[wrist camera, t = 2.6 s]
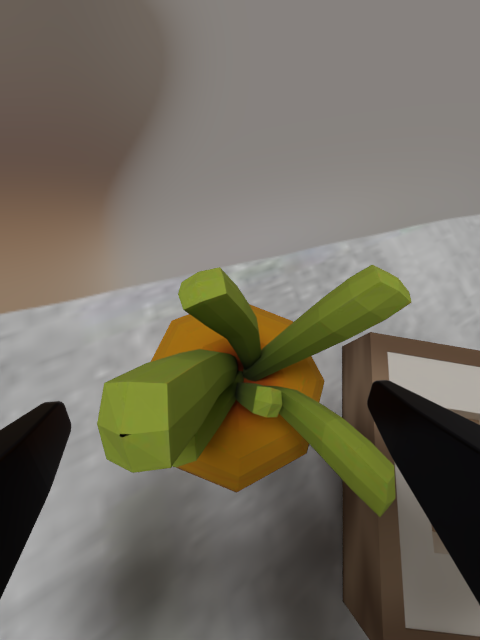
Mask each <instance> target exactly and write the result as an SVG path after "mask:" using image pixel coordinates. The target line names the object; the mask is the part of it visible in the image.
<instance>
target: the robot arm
mask: <svg viewBox="0 0 480 640" xmlns="http://www.w3.org/2000/svg"><path fill="white" fill-rule="evenodd" d="M367 406H368V409H369V412H370V414H371V416H372V418H373V420H374V422H375V424H376V426H377V428H378V430H379V432H380V435H381V437H382V439H383V441H384V443H385V445H386V447H387V449H388V451H389V453H390V455H391V457H392V459H393V460H394V462H395V464H396V466H397V467H398V469H399V471H400V472H401V474H402V476H403V477H404V479H405V481H406V482H407V484H408V486H409V487H410V489H411V491H412V492H413V494H414V496H415V497H416V499H417V501H418V502H419V504H420V506H421V508H422V509H423V511H424V513H425V514H426V516H427V518H428V519H429V521H430V523H431V524H432V526H433V528H434V529H435V531H436V533H437V534H438V536H439V538H440V539H441V541H442V543H443V544H444V546H445V548H446V550H447V551H448V553H449V555H450V556H451V558H452V560H453V561H454V563H455V565H456V566H457V568H458V570H459V571H460V573H461V575H462V576H463V578H464V580H465V581H466V583H467V585H468V586H469V588H470V590H471V592H472V593H473V595H474V597H475V598H476V600H477V602H478V603H479V605H480V425H479V424H477V423H475V422H473V421H471V420H469V419H467V418H465V417H463V416H461V415H459V414H457V413H455V412H453V411H450V410H448V409H446V408H444V407H442V406H440V405H438V404H436V403H434V402H432V401H430V400H428V399H426V398H424V397H422V396H420V395H418V394H416V393H414V392H412V391H410V390H408V389H405V388H403V387H401V386H399V385H397V384H395V383H393V382H391V381H389V380H377V381H374V382H373V383H372V386H371V389H370V393H369V396H368V399H367ZM70 432H71V422H70V419H69V416H68V413H67V411H66V408H65V405H64V404H63V403H62V402H60V401H56V402H45V403H43V404H41V405H39V406H38V407H36V408H34V409H33V410H31V411H30V412H28V413H27V414H25V415H23V416H22V417H20V418H19V419H17V420H16V421H14V422H12V423H11V424H9V425H8V426H6V427H5V428H3V429H1V430H0V599H1V597H2V594H3V592H4V590H5V588H6V586H7V584H8V581H9V579H10V577H11V575H12V573H13V570H14V568H15V566H16V564H17V562H18V560H19V557H20V555H21V553H22V551H23V549H24V547H25V544H26V542H27V540H28V538H29V536H30V533H31V531H32V529H33V527H34V525H35V523H36V520H37V518H38V516H39V514H40V512H41V510H42V507H43V505H44V503H45V501H46V498H47V496H48V494H49V492H50V489H51V486H52V484H53V481H54V478H55V475H56V472H57V469H58V467H59V464H60V461H61V458H62V455H63V452H64V449H65V446H66V444H67V441H68V438H69V435H70Z"/></svg>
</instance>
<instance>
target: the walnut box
mask: <svg viewBox="0 0 480 640" xmlns="http://www.w3.org/2000/svg"><path fill="white" fill-rule="evenodd" d="M387 352H392V353H398V354H404V355H410V356H416V357H422V358H428V359H434V360H440V361H446V362H452V363H458V364H464V365H470V366H476V367H480V351H478V350H472V349H466V348H461V347H455V346H449V345H443V344H437V343H431V342H425V341H419V340H413V339H407V338H402V337H396V336H390V335H384V334H378V333H372V332H370V333H368V334H366V335H364V336H362V337H360V338H358V339H356V340H354V341H352V342H350V343H348V344H346V345H344V346H342V418H343V419H344V420H346V421H347V422H348V423H349V424H350V425H352V426H353V427H354V428H355V429H356V430H357V431H359V432H360V433H361V434H362V435H363V436H364V437H366V438H367V439H368V440H369V441H370V442H371V443H372V444H373V445H374V446H375V447H376V448H377V449H378V450H379V451H380V452H381V453H382V454H383V455H384V456H385V457H386V458H387V459H388V460H389V461H390V462H391V463H392V464H393V465H394V471H395V462H394V460H393V459H392V457H391V455H390V453H389V451H388V449H387V447H386V445H385V443H384V441H383V439H382V437H381V435H380V432H379V430H378V428H377V426H376V424H375V422H374V420H373V418H372V416H371V414H370V412H369V409H368V406H367V399H368V396H369V393H370V389H371V386H372V383H373V382H374V381H377V380H389V368H388V353H387ZM467 419H468V418H467ZM469 420H471V421H473V422H475V423H477V424H479V420H474V419H469ZM479 425H480V424H479ZM431 526H432V524H431ZM432 532H436V531H435V529H434V528H433V526H432ZM343 602H344V603H345V605H346V606H347V608H348V609H349V611H350V612H351V614H352V615H353V616H354V618H355V619H356V621H357V622H358V624H359V625H360V626H361V628H362V629H363V631H364V632H365V634H366V635H367V637H368V638H369V639H370V640H480V636H471V635H463V634H454V633H445V632H437V631H428V630H420V629H411V628H406V626H405V611H404V596H403V580H402V565H401V550H400V535H399V520H398V505H397V489H396V474H395V500H394V501H393V502H392V504H391V505H390V506H389V507H388V509H387V510H386V511H385V512H384V513H383V515H382V516H381V517H379V516H378V515H377V514H376V513H375V512H374V511H373V510H372V509H371V508H370V507H369V506H368V505H367V504H366V503H365V502H364V501H363V500H362V499H361V498H360V497H359V496H358V495H357V494H356V493H355V492H353V491H352V490H351V488H350V487H349V486H348V485H347V484H346V483H345V482H344V481H343Z"/></svg>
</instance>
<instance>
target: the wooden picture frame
mask: <svg viewBox="0 0 480 640" xmlns="http://www.w3.org/2000/svg"><path fill="white" fill-rule="evenodd" d="M387 353H388V368H389V381H391V382H393V383H395V384H397V385H399V386H401V387H403V388H405V389H408V390H410V391H412V392H414V393H416V394H418V395H420V396H422V397H424V398H426V399H428V400H430V401H432V402H434V403H436V404H438V405H440V406H442V407H444V408H446V409H448V410H450V411H453V412H455V413H457V414H459V415H461V416H463V417H465V418H468V419H474V420H479V424H480V367H476V366H470V365H464V364H458V363H452V362H446V361H440V360H434V359H428V358H422V357H416V356H410V355H404V354H398V353H392V352H387ZM395 474H396V489H397V505H398V520H399V535H400V550H401V565H402V580H403V596H404V611H405V626H406V628H411V629H420V630H428V631H437V632H445V633H454V634H463V635H471V636H480V605H479V603H478V602H477V600H476V598H475V597H474V595H473V593H472V592H471V590H470V588H469V586H468V585H467V583H466V581H465V580H464V578H463V576H462V575H461V573H460V571H459V570H458V568H457V566H456V565H455V563H454V561H453V560H452V558H451V556H450V555H449V553H448V551H447V550H446V548H445V546H444V544H443V543H442V541H441V539H440V538H439V536H438V534H437V533H436V532H432V526H431V523H430V521H429V519H428V518H427V516H426V514H425V513H424V511H423V509H422V508H421V506H420V504H419V502H418V501H417V499H416V497H415V496H414V494H413V492H412V491H411V489H410V487H409V486H408V484H407V482H406V481H405V479H404V477H403V476H402V474H401V472H400V471H399V469H398V467H397V466H396V464H395Z"/></svg>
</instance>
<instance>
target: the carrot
mask: <svg viewBox="0 0 480 640" xmlns="http://www.w3.org/2000/svg"><path fill="white" fill-rule="evenodd" d="M178 295H179V298H180V301H181V304H182V307H183V310H185V311H186V312H187V313H189V315H186V316H183V317H181V318H178V319H175V320H172V321H171V323H170V325H169V327H168V329H167V331H166V333H165V335H164V337H163V339H162V341H161V343H160V345H159V347H158V349H157V351H156V353H155V354H154V356H153V358H152V360H151V362H149V363H146V364H144V365H142V366H140V367H137V368H135V369H133V370H131V371H129V372H127V373H125V374H123V375H120V376H118V377H116V378H114V379H112V380H110V381H108V382H106V383H104V388H103V394H102V399H101V405H100V411H99V417H98V422H97V425H98V429H99V433H100V436H101V440H102V444H103V447H104V451H105V455H106V459H107V460H109V461H111V462H113V463H115V464H117V465H119V466H121V467H123V468H125V469H126V470H128V471H130V472H132V473H134V472H142V471H150V470H157V469H165V468H171V467H172V466H173V467H176V468H179V469H181V470H183V471H186V472H188V473H191V474H193V475H196V476H198V477H200V478H203V479H205V480H208V481H210V482H212V483H215V484H217V485H220V486H222V487H224V488H227V489H229V490H232V491H234V492H238V491H240V490H242V489H244V488H245V487H247V486H249V485H251V484H253V483H254V482H256V481H258V480H260V479H262V478H263V477H265V476H267V475H269V474H270V473H272V472H274V471H276V470H278V469H279V468H281V467H283V466H285V465H287V464H288V463H290V462H292V461H294V460H296V459H297V458H299V457H301V456H303V455H304V454H306V453H307V450H308V446H309V444H310V445H311V446H312V447H313V448H314V449H315V450H316V451H317V453H318V454H319V455H320V456H321V457H322V458H323V459H324V460H325V461H326V462H327V463H328V464H329V465H330V467H331V468H332V469H333V470H334V471H335V472H336V473H337V474H338V475H339V476H340V478H341V479H342V480H343V481H344V482H345V483H346V484H347V485H348V486H349V487H350V488H351V490H352V491H353V492H355V493H356V494H357V495H358V496H359V497H360V498H361V499H362V500H363V501H364V502H365V503H366V504H367V505H368V506H369V507H370V508H371V509H372V510H373V511H374V512H375V513H376V514H377V515H378V516H379V517H381V516H382V515H383V513H384V512H385V511H386V510H387V509H388V507H389V506H390V505H391V504H392V502H393V501H394V500H395V471H394V465H393V464H392V463H391V462H390V461H389V460H388V459H387V458H386V457H385V456H384V455H383V454H382V453H381V452H380V451H379V450H378V449H377V448H376V447H375V446H374V445H373V444H372V443H371V442H370V441H369V440H368V439H367V438H366V437H364V436H363V435H362V434H361V433H360V432H359V431H357V430H356V429H355V428H354V427H353V426H352V425H350V424H349V423H348V422H347V421H346V420H344V419H343V418H342V417H340V416H339V415H337V414H336V413H334V412H332V411H331V410H329V409H328V408H326V407H325V406H323V405H322V404H320V403H319V401H320V397H321V393H322V389H323V385H324V379H323V377H322V375H321V373H320V372H319V370H318V368H317V366H316V364H315V362H314V360H313V358H312V357H311V356H312V355H314V354H316V353H319V352H321V351H323V350H325V349H327V348H329V347H332V346H334V345H336V344H338V343H340V342H343V341H345V340H347V339H349V338H351V337H353V336H355V335H357V334H359V333H361V332H363V331H364V330H366V329H368V328H370V327H372V326H374V325H376V324H378V323H380V322H382V321H384V320H386V319H387V318H389V317H390V316H392V315H393V314H395V313H396V312H398V311H399V310H401V309H402V308H404V307H405V306H407V305H408V304H410V303H411V298H410V294H409V291H408V290H407V289H406V287H405V286H404V285H403V284H402V282H401V281H400V280H399V279H398V278H397V277H395V276H393V275H392V274H390V273H388V272H386V271H384V270H382V269H380V268H378V267H376V266H374V265H371V266H369V267H367V268H366V269H364V270H362V271H360V272H359V273H357V274H355V275H354V276H352V277H350V278H349V279H347V280H346V281H345V282H343V283H342V284H341V285H339V286H338V287H337V288H335V289H334V290H333V291H331V292H330V293H329V294H327V295H326V296H325V297H323V298H322V299H321V300H320V301H319V302H317V303H316V304H315V305H314V306H312V307H311V308H310V309H309V310H308V311H306V312H305V313H304V314H303V315H302V316H300V317H299V318H298V319H297V320H296V321H294V322H293V321H291V320H288V319H286V318H283V317H280V316H278V315H275V314H273V313H270V312H268V311H265V310H262V309H260V308H257V307H255V306H252V305H250V304H249V303H248V302H247V300H246V299H245V297H244V296H243V294H242V293H241V291H240V290H239V288H238V287H237V285H236V284H235V283H234V282H233V281H232V280H231V279H230V278H229V277H228V276H227V275H226V274H225V272H224V271H223V270H222V269H221V268H215V269H210V270H205V271H200V272H197V273H196V274H194V275H193V276H191V277H189V278H188V279H186V280H185V281H183V282H182V283H181V286H180V290H179V293H178Z"/></svg>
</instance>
